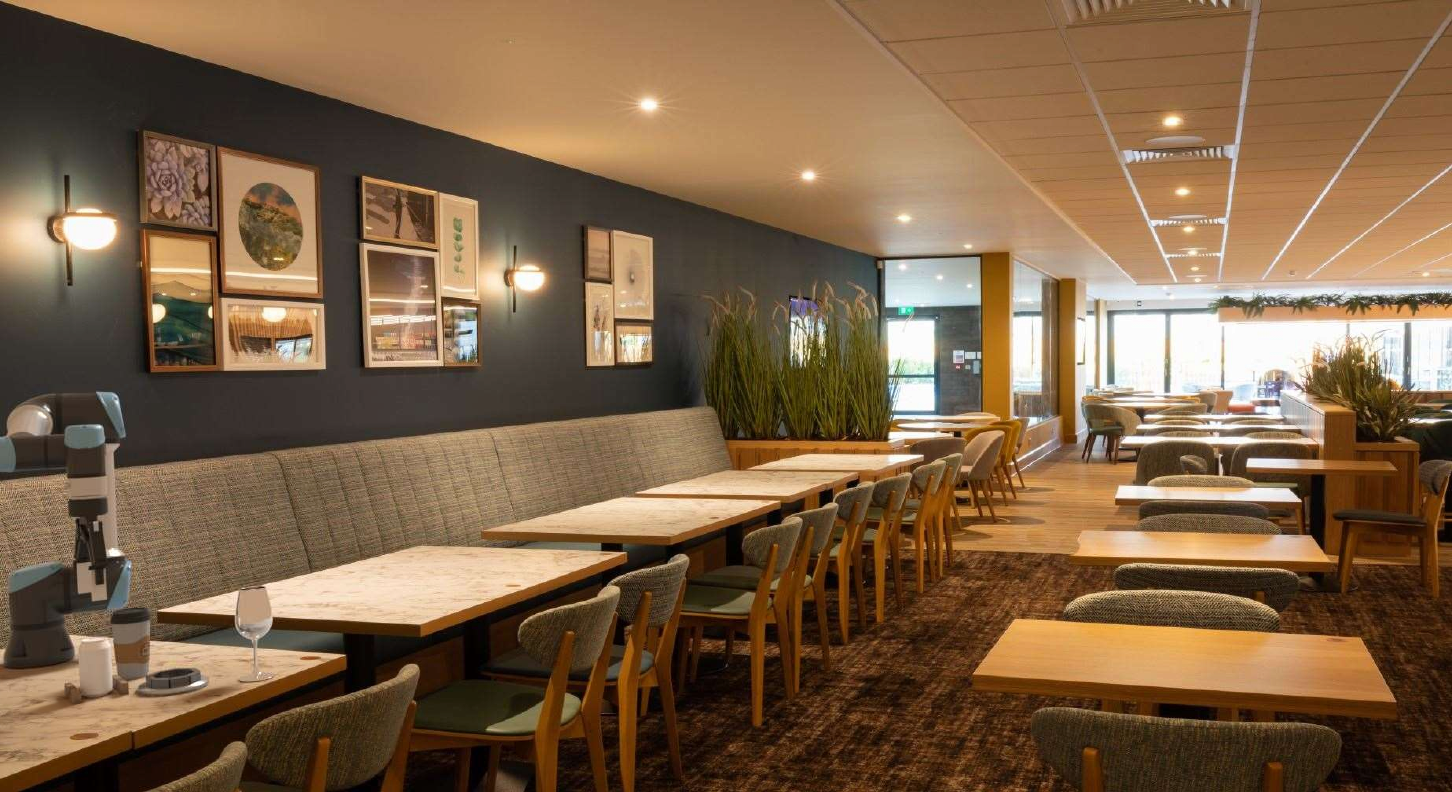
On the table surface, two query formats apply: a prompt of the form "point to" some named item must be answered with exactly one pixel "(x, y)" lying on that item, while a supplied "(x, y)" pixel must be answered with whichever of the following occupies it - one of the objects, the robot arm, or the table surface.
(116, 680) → the walnut cradle
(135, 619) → the coffee cup
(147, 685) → the hub collar
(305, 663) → the table surface
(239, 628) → the wineglass
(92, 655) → the beverage can
